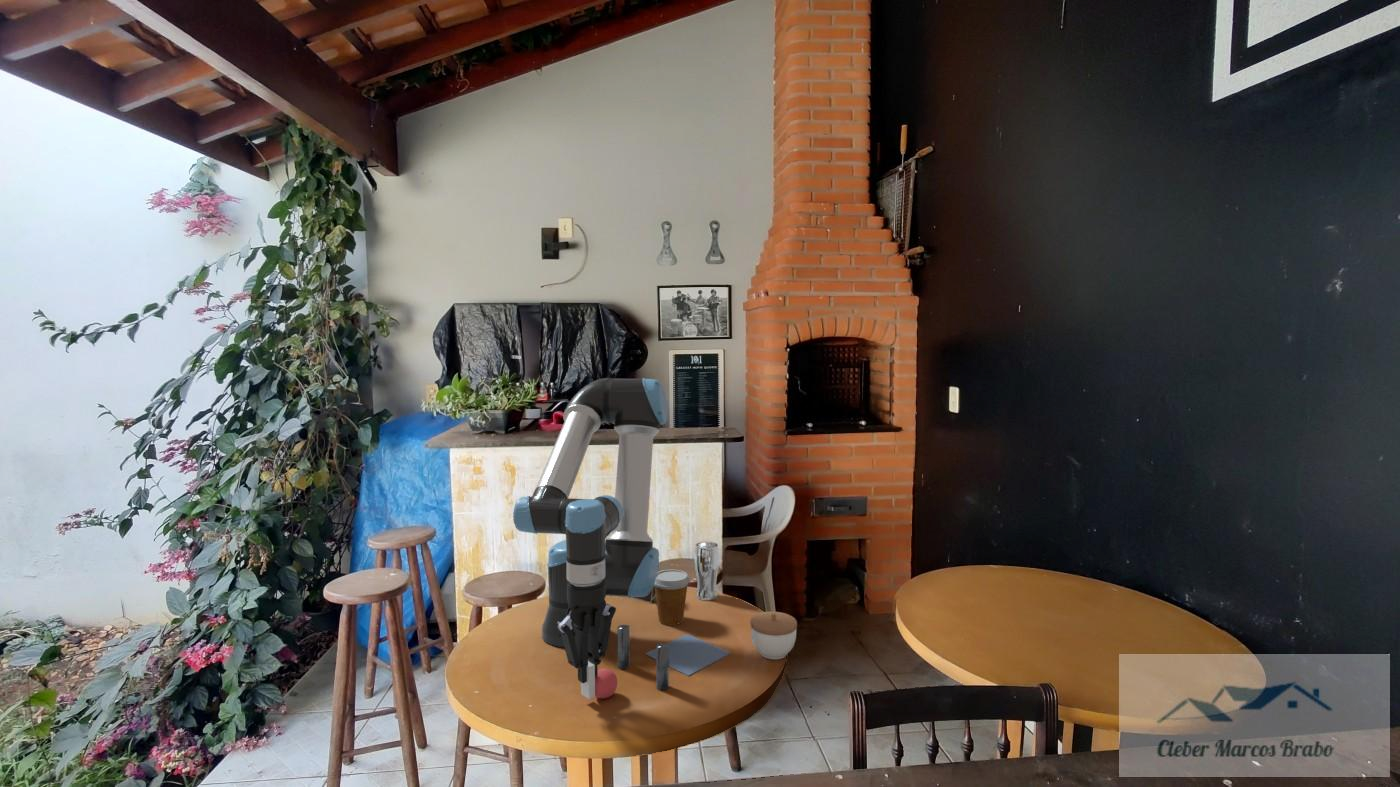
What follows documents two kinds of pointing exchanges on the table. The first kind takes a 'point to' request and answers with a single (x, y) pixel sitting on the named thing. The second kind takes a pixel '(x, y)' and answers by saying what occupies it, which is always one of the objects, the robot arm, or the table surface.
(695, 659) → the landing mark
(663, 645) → the post
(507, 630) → the table surface
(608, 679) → the ball
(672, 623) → the disposable coffee cup
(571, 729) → the table surface
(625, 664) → the post
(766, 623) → the lidded jar
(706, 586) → the beer glass
